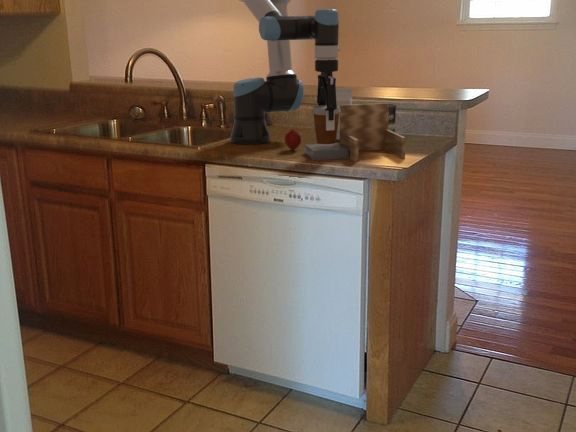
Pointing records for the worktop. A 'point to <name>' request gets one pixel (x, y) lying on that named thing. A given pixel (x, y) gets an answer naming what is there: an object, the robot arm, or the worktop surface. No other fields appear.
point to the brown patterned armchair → (368, 130)
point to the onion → (292, 139)
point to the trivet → (326, 151)
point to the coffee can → (392, 117)
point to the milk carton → (342, 103)
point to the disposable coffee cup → (324, 125)
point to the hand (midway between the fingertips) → (326, 127)
